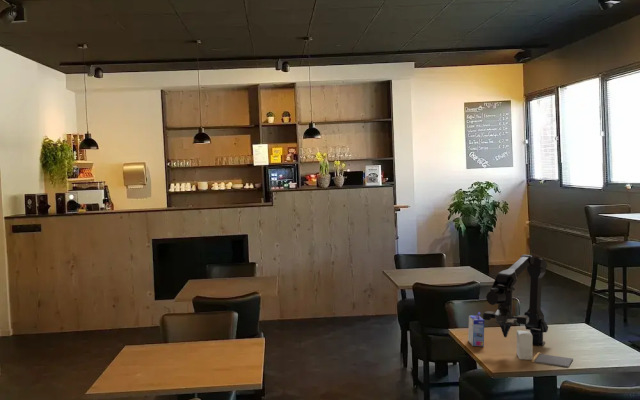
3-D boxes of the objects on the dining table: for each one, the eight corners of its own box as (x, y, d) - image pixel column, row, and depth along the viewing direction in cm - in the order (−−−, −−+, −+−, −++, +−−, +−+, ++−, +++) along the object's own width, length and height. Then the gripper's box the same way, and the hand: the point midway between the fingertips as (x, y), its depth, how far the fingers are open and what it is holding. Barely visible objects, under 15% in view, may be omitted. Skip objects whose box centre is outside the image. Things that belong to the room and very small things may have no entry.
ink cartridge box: (484, 346, 271) (485, 315, 271) (472, 346, 271) (472, 315, 271) (479, 340, 281) (479, 310, 281) (467, 340, 281) (468, 310, 281)
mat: (537, 354, 258) (537, 352, 258) (573, 359, 251) (573, 357, 251) (531, 362, 248) (531, 359, 248) (568, 367, 240) (568, 364, 240)
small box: (532, 360, 251) (532, 335, 250) (518, 359, 252) (518, 334, 251) (529, 354, 259) (530, 330, 258) (516, 353, 260) (516, 330, 259)
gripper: (478, 302, 257) (478, 338, 257) (523, 307, 247) (523, 344, 247) (486, 298, 266) (486, 332, 267) (529, 302, 256) (529, 338, 257)
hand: (505, 337), depth 259 cm, fingers closed
